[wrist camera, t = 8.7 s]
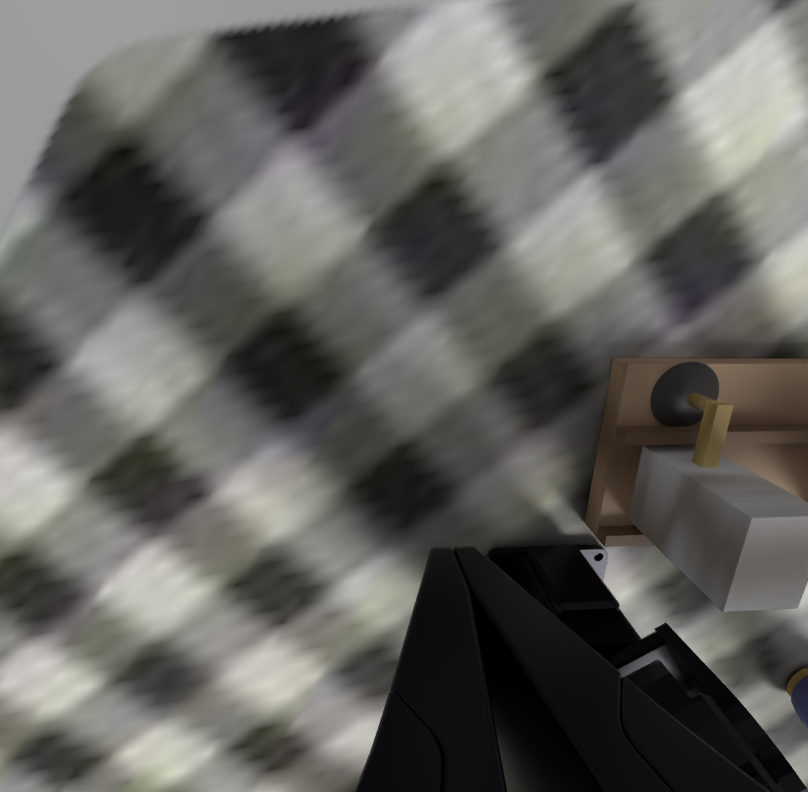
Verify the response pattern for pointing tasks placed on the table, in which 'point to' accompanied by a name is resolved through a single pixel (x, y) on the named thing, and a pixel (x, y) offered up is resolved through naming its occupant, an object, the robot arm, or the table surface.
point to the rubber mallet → (799, 694)
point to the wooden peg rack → (709, 473)
